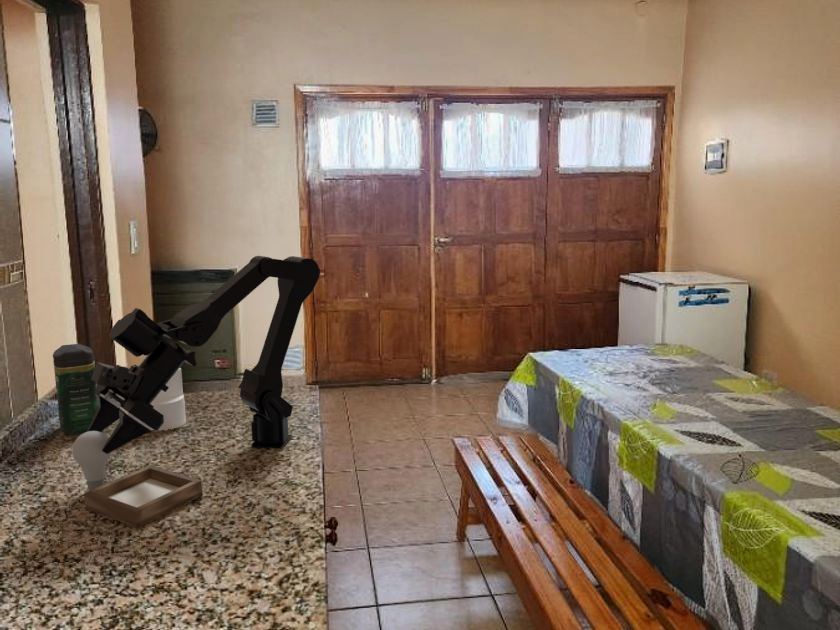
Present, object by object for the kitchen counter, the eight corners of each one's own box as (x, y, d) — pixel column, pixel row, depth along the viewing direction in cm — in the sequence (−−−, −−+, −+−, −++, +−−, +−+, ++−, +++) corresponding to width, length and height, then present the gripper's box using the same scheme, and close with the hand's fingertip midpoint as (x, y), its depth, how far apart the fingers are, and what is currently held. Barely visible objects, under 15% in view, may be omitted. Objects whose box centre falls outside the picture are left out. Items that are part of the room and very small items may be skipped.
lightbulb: (123, 488, 119) (118, 428, 117) (94, 502, 114) (87, 440, 112) (99, 482, 122) (93, 423, 120) (69, 496, 116) (62, 435, 114)
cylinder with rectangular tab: (170, 414, 158) (166, 364, 156) (194, 422, 153) (190, 370, 150) (134, 425, 151) (130, 373, 148) (158, 433, 146) (154, 379, 143)
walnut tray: (152, 479, 123) (150, 465, 122) (202, 495, 116) (201, 480, 116) (85, 509, 112) (83, 493, 111) (137, 528, 105) (135, 511, 105)
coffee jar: (103, 431, 147) (95, 348, 144) (62, 438, 143) (52, 353, 140) (98, 418, 155) (90, 339, 152) (59, 424, 151) (50, 343, 148)
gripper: (102, 336, 124) (41, 407, 119) (139, 354, 110) (72, 435, 105) (149, 370, 131) (93, 439, 125) (189, 392, 117) (128, 469, 112)
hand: (95, 444), depth 117 cm, fingers open, 9 cm apart
